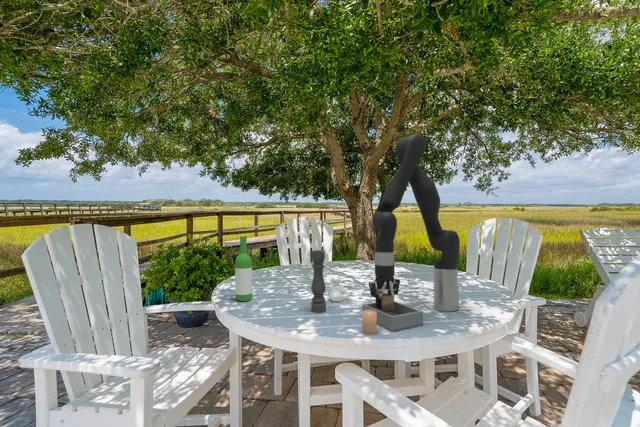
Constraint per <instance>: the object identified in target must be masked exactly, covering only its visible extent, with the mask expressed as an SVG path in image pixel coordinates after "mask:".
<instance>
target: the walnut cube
mask: <svg viewBox="0 0 640 427" xmlns="http://www.w3.org/2000/svg"><path fill="white" fill-rule="evenodd" d="M394 301H395V295H394V296H393V295H390V294H388V292H384V293H383V294H382V297H381V308H380V309H381V310H383V311H385V310H391V309H394ZM376 308H377V306H376ZM378 309H379V308H378Z"/></svg>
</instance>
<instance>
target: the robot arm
mask: <svg viewBox="0 0 640 427" xmlns="http://www.w3.org/2000/svg"><path fill="white" fill-rule="evenodd" d="M394 147H395V154H396V157H397V159H398V161H399V163H400V166H399V168H398V169H397V171H396V172H395V173H394V174H393V176H392V178H391V179H390V181H389V182H388V184H387V186H386V189H385V191H384V194H383V198H382V200H381V202H379V204H378V206H377V207H376V210H375V211H374V214H373V215H372V219H371V220H372V225H373V227H374V228H375V229H377V230H379V236H377V237H376V238H375V244H374V246H375V248H374V249H375V250H374V251H375V253H374V275H375V279H374V280H373V281H368V287H369V291H370V296H371V297H373V298H375V302H376V306H377V308H379V309H380V308H381V297H382V294H383V293H385V291H386V293H387V294H390V295H393V296H394V297H395V296H396V295H397V296H398V294H399V291H400V290H399V289H400V284H401V280H400V279H399V278H395V277H394V276H395V273H396V272H395V268H396V267H395V266H396V265H395V252H394V251H395V248H394V246H395V245H394V240H395V238H396V233H397V228H398V220H397V216H396V215H395V214H394V213H393V212H394V210H397V209H398V208H399V207H400V206H401V203H402V200H403V197H404V194H405V192H406V189H407V187H408V184H409V185H410V187H411V190H412V193H413V196H414V199H415V202H416V205H417V206H418V208H419V211H420V214H421V217H422V220H423V223H424V226H425V227H424V228H425V231H426V233H427V238H428V241H429V245H430V246H431V248H432V249H433V250H435V251H437V252H441V257H440V258H438V259H435V260H434V261H433V309H435V310H437V311H441V312H456V311H457V310H458V309H460V308H459V307H460V302H459V301H460V299H459V298H460V296H459V295H460V293H459V291H460V288H459V285H458V264H459V260H460V244H461V241H460V237H459V234H458V232H456V231H455V230H451V229H450V230H449V229H448V230H447V229H443V228H442V226H441V222H440V220H439V212H440V209H441V208H440V207H441V198H440V194H439V190H438V189H437V186H436V184H435V183H434V181H433V180H432V178H430V176H429V175H427V174H426V172H425V171H424V170H423V169H422V167H421V166H420V161H421V160H422V157H423V156H424V154H425V151H426V148H427V143H426V141H425V139H424V137H423V136H422V135H419V134H412V135H407V136H405V137H401V138H399V139H398V140H397V141H396V143H395V146H394Z"/></svg>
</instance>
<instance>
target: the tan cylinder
mask: <svg viewBox="0 0 640 427" xmlns="http://www.w3.org/2000/svg"><path fill="white" fill-rule="evenodd" d="M361 318H362V320H361V328H362V329H361V332H362V334H364V335H368V334H369V335H368V336H371V335H373V336H374V335H376V334H377V333H378V324H377V311H375V310H363V311H361Z"/></svg>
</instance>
